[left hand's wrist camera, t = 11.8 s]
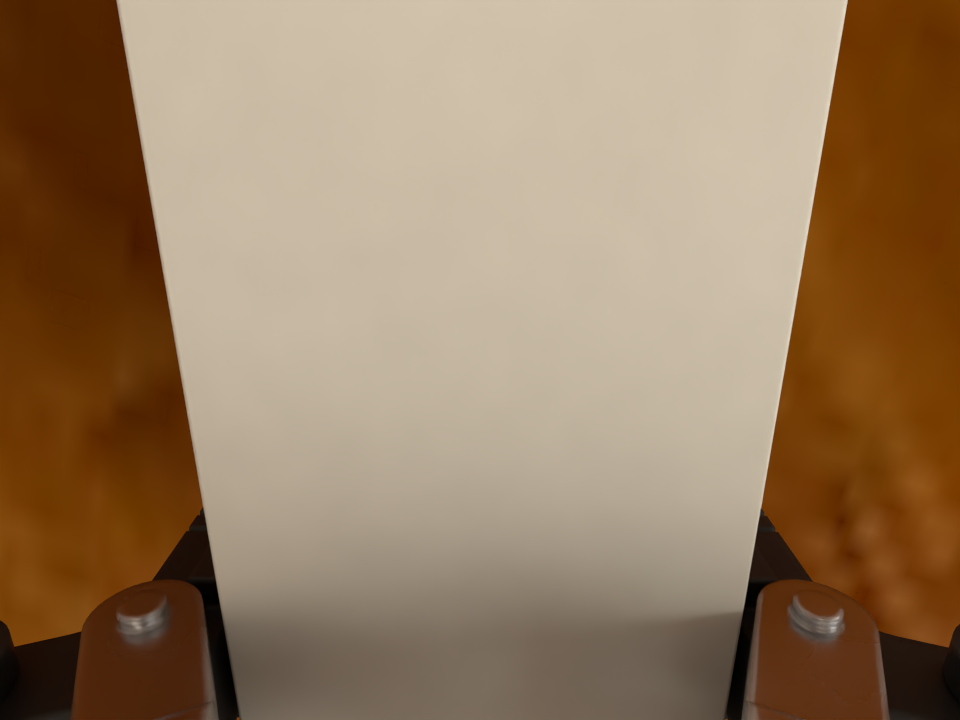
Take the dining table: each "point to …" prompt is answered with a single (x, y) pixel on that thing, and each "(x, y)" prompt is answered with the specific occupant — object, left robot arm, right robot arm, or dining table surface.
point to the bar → (482, 335)
